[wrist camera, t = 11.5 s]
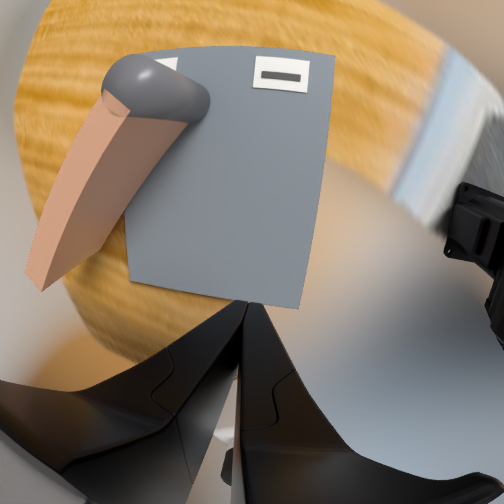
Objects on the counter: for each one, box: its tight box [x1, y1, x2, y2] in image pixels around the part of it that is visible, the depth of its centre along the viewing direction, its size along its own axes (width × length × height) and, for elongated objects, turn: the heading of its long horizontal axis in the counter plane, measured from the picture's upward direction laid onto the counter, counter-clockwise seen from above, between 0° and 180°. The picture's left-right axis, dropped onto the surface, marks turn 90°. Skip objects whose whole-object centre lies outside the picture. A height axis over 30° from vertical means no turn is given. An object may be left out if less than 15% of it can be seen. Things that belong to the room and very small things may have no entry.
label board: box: [124, 46, 335, 309], centre depth 20 cm, size 15×20×1 cm
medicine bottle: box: [213, 379, 237, 486], centre depth 23 cm, size 7×7×12 cm
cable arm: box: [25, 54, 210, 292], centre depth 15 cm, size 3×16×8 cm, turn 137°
